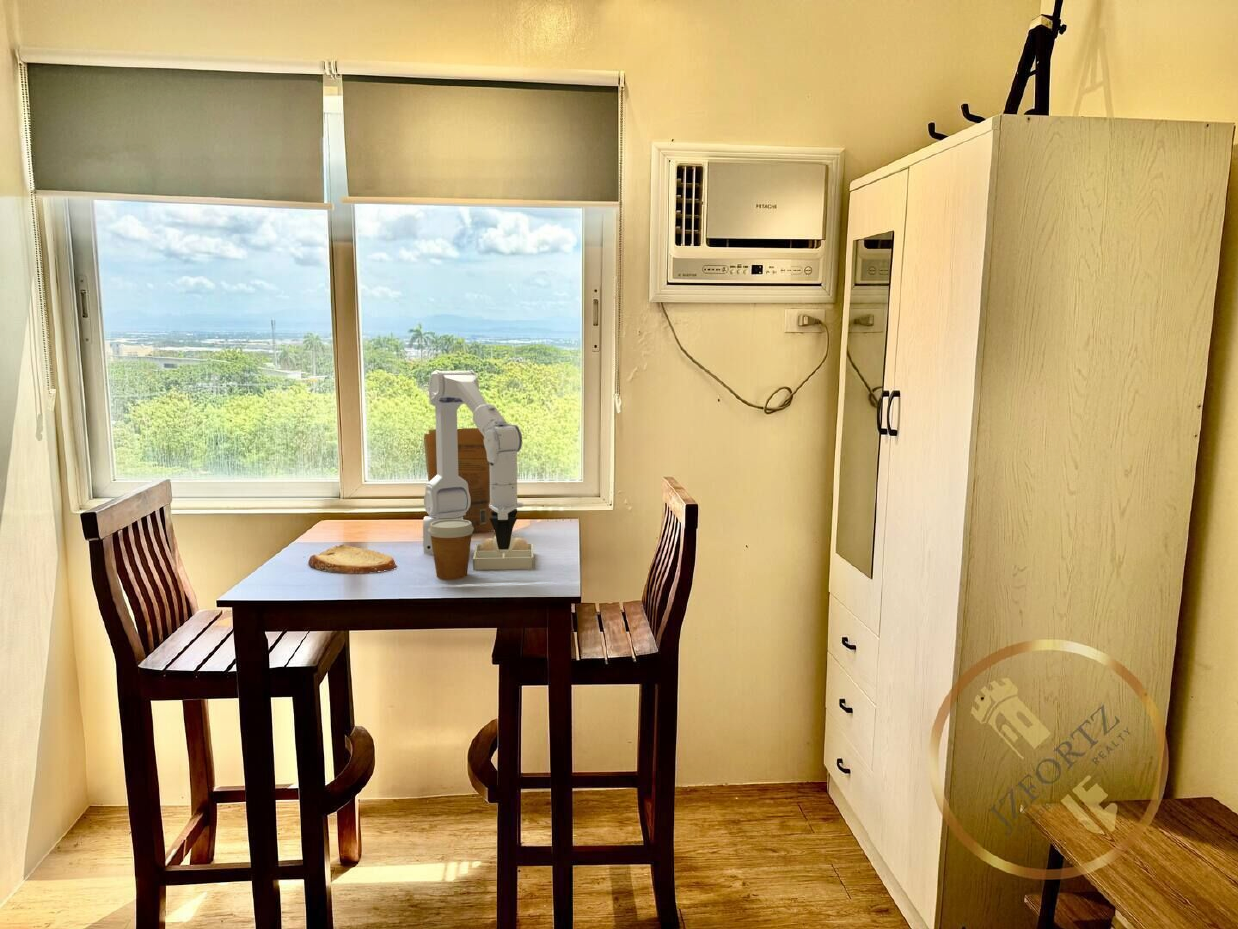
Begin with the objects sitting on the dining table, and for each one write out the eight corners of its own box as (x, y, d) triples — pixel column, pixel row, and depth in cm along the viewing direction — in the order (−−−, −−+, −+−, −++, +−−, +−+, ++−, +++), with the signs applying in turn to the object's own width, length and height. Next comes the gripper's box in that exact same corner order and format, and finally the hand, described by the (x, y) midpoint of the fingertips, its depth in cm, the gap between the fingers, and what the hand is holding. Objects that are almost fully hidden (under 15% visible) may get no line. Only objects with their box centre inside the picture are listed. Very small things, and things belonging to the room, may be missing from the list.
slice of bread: (399, 572, 178) (399, 555, 177) (313, 581, 170) (312, 564, 170) (386, 553, 194) (386, 537, 193) (307, 560, 186) (306, 545, 186)
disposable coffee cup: (477, 582, 168) (476, 526, 167) (430, 586, 166) (429, 529, 164) (472, 570, 177) (471, 517, 176) (427, 573, 175) (426, 519, 173)
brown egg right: (508, 559, 184) (507, 540, 184) (508, 554, 189) (508, 535, 188) (528, 559, 185) (528, 540, 184) (528, 554, 189) (528, 535, 189)
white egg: (492, 555, 168) (492, 534, 167) (493, 550, 173) (493, 529, 172) (514, 555, 169) (514, 534, 168) (515, 549, 173) (515, 529, 172)
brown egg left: (479, 560, 184) (479, 540, 183) (481, 555, 188) (480, 536, 188) (500, 560, 184) (500, 540, 184) (500, 554, 189) (500, 535, 188)
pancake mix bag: (498, 534, 212) (496, 428, 208) (425, 534, 212) (422, 428, 208) (500, 528, 219) (499, 426, 215) (430, 528, 218) (427, 426, 214)
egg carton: (473, 572, 176) (472, 558, 176) (476, 556, 189) (476, 544, 189) (533, 570, 178) (533, 557, 177) (532, 555, 191) (532, 543, 190)
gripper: (522, 489, 162) (522, 554, 164) (522, 477, 176) (523, 537, 178) (487, 489, 161) (487, 555, 163) (490, 477, 175) (490, 538, 177)
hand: (504, 546), depth 170 cm, fingers closed on white egg, 5 cm apart
